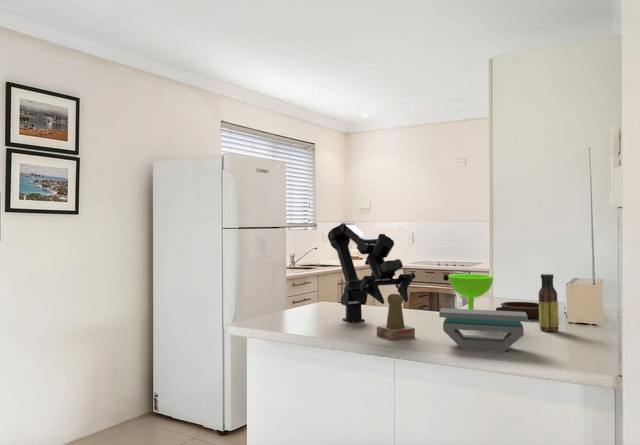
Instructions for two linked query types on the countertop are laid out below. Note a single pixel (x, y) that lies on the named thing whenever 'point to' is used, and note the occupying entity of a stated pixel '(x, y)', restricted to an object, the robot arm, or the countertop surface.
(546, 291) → the sauce bottle
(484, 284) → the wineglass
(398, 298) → the olive tall rounded piece
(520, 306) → the dish
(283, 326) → the countertop surface
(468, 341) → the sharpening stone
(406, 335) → the tan flat block
